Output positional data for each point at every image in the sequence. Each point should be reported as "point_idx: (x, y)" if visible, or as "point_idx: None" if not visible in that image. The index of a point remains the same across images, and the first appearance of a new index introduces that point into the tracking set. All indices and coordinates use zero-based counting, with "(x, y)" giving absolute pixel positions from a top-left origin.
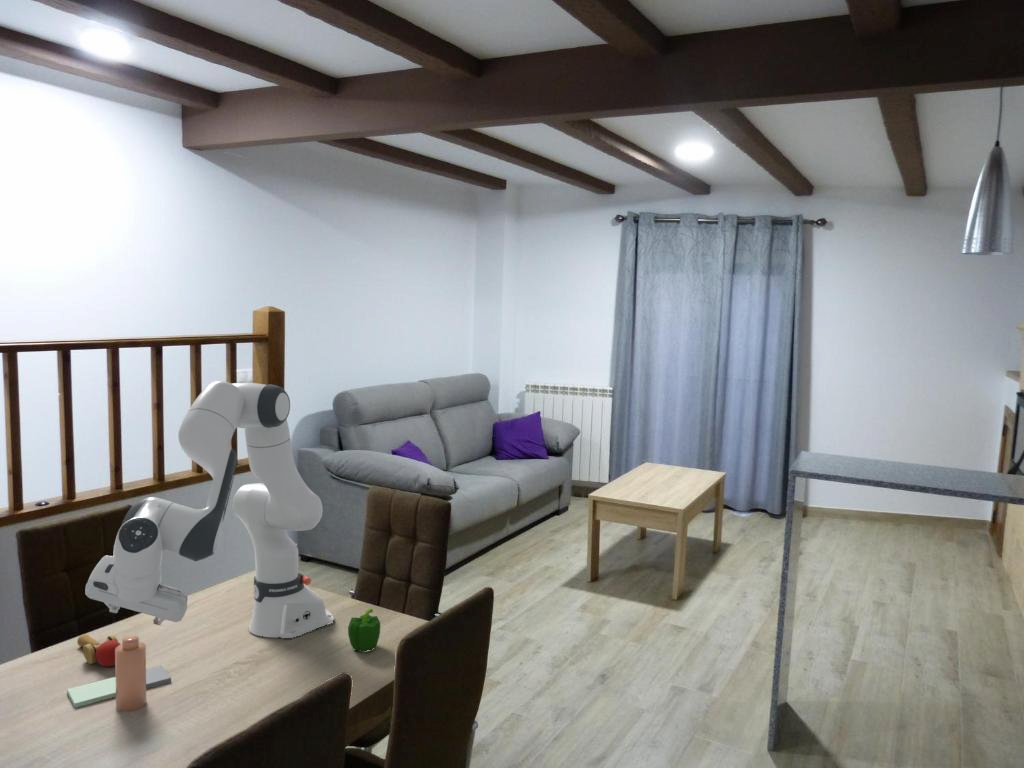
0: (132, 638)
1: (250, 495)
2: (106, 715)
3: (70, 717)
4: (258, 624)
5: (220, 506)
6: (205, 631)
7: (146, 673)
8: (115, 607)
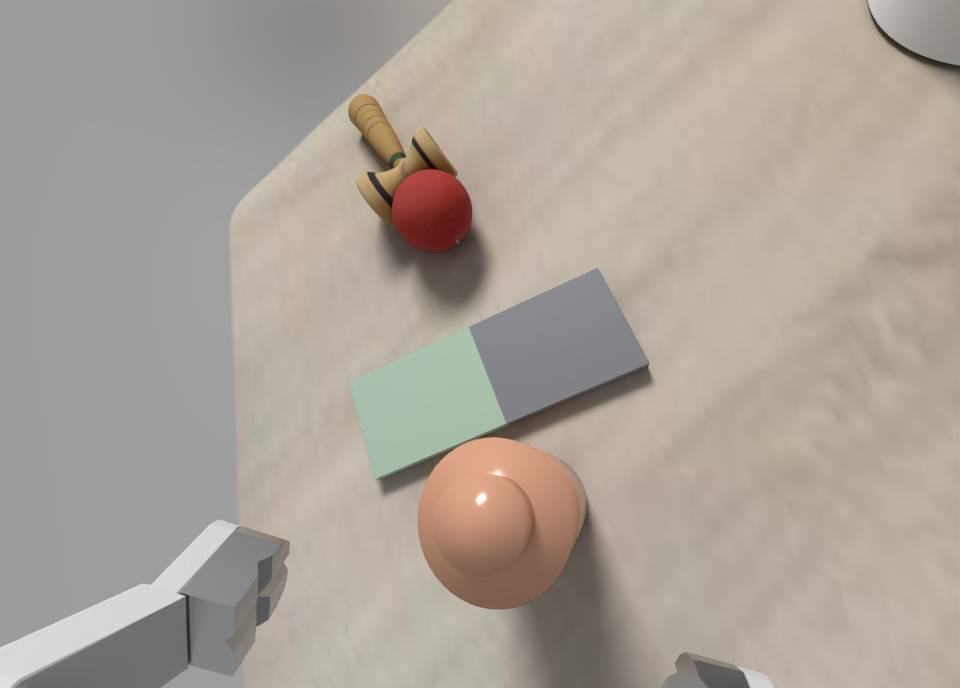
0: (489, 520)
1: None
2: None
3: (376, 537)
4: (956, 8)
5: None
6: (700, 35)
7: (558, 319)
8: (212, 654)
